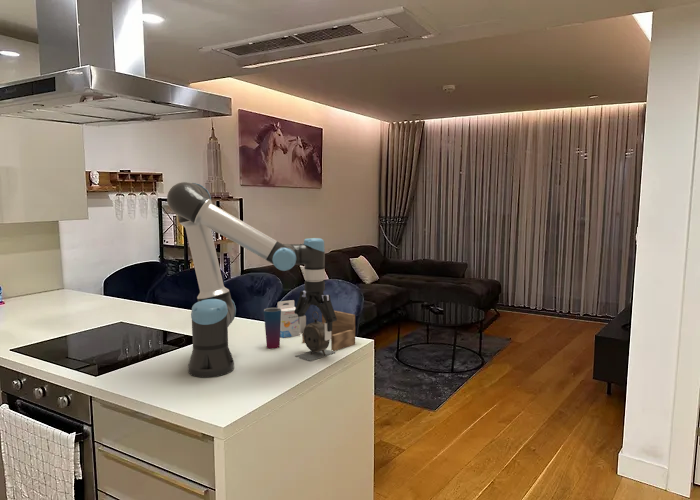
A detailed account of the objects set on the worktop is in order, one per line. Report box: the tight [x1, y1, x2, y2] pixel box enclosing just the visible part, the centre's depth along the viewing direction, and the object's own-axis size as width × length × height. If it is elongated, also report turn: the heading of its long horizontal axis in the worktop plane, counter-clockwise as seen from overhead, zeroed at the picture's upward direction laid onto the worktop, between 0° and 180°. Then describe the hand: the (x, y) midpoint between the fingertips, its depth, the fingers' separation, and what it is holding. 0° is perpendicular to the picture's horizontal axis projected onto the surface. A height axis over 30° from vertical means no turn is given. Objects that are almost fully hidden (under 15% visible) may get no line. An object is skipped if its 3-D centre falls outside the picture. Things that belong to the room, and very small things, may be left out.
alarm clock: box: [303, 311, 331, 357], centre depth 183 cm, size 11×5×16 cm, turn 43°
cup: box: [263, 307, 281, 350], centre depth 193 cm, size 7×7×15 cm
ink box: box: [277, 299, 301, 339], centre depth 210 cm, size 8×5×15 cm, turn 124°
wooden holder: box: [301, 310, 356, 352], centre depth 198 cm, size 12×18×12 cm
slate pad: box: [294, 349, 336, 362], centre depth 184 cm, size 13×8×1 cm, turn 138°
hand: (315, 336), depth 183 cm, fingers open, 13 cm apart
